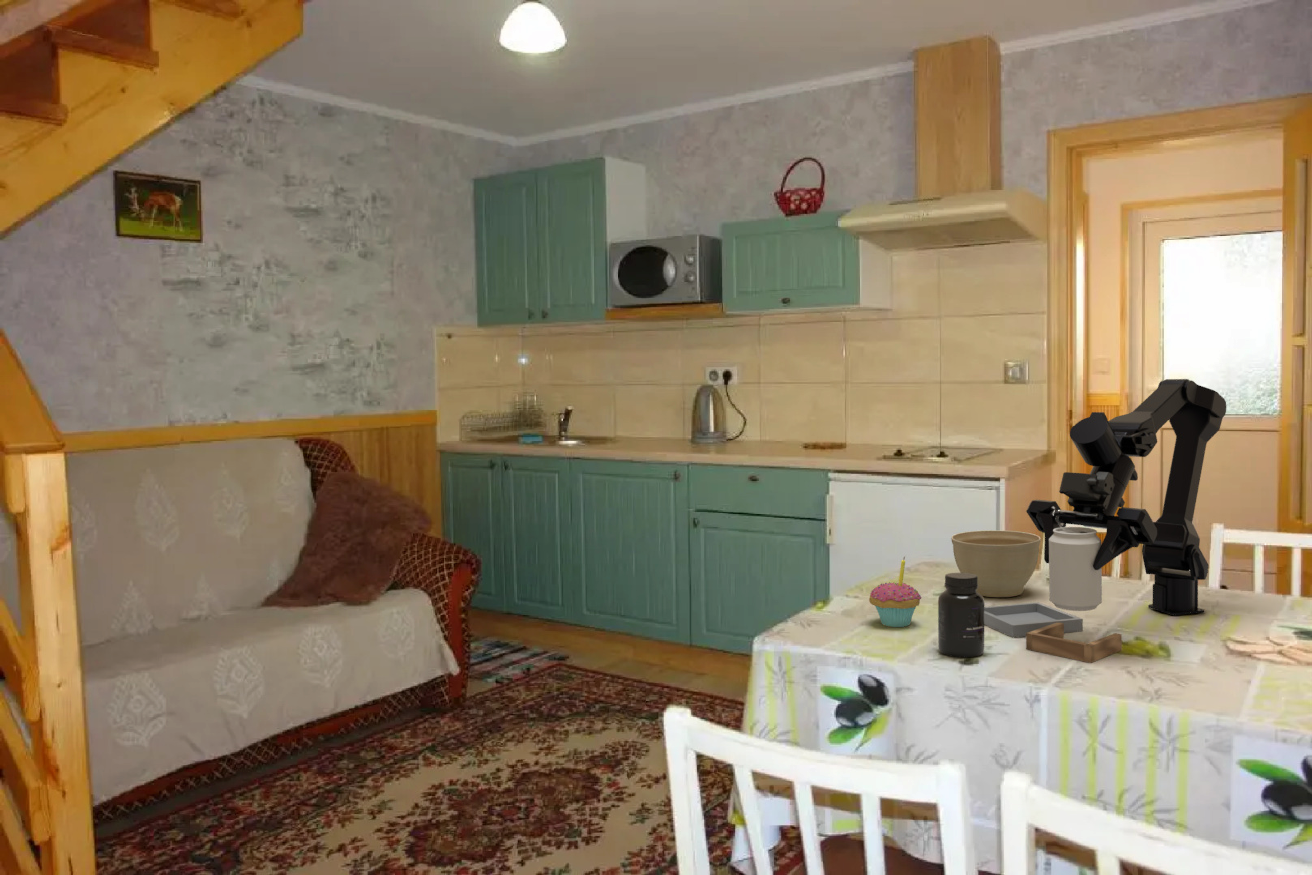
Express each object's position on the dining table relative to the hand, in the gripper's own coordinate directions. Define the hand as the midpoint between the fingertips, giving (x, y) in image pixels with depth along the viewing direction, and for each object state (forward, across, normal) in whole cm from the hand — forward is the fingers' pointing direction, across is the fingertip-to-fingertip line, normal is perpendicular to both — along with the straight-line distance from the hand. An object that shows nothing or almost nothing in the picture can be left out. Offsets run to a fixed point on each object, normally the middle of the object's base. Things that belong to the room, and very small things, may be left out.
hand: (1070, 564), depth 156 cm
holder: (+9, 0, +10) cm, 13 cm away
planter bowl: (-9, -30, +28) cm, 42 cm away
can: (+4, 0, +6) cm, 7 cm away
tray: (+3, -13, +16) cm, 20 cm away
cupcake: (+13, -29, +6) cm, 32 cm away
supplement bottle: (+18, -11, +1) cm, 21 cm away
